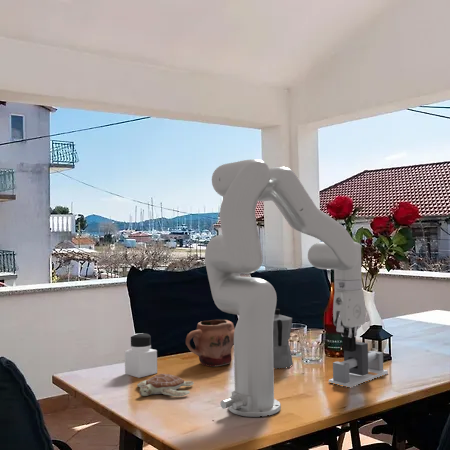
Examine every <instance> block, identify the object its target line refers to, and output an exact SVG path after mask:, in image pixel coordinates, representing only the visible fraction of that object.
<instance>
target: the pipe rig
mask: <svg viewBox="0 0 450 450" xmlns="http://www.w3.org/2000/svg"><path fill="white" fill-rule="evenodd" d="M356 366H358V358H352V359H349V360H346V361H344V360H343V361H334V362H332V378H330V379H328V383H329V382H331V383H335V384H339V385H343V386H347V387H352V386H355V385H357V386H359V385H358V384H360V383H363V382H365V381H368V380H370V381H373V380H375V379H374V378H376V379H377V377H378V378H381V377H382V375H383V376H386V375H389V371H388V369H384V353H383V352H381V351H375V350H368V374H366V375H363V376H362V375H357V374H352V373H349V369H350V368H353V367H356ZM385 374H386V375H385ZM380 376H381V377H380ZM372 379H373V380H372ZM368 382H369V381H368ZM365 383H366V382H365ZM363 384H364V383H363ZM360 385H361V384H360ZM343 386H342V387H343ZM347 387H346V388H347ZM355 387H356V386H355ZM352 388H353V387H352Z"/></svg>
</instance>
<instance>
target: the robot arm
mask: <svg viewBox="0 0 450 450" xmlns="http://www.w3.org/2000/svg"><path fill="white" fill-rule="evenodd" d="M211 185H212V187H213V189H214V191H215V192H216V193H217V195H219V196H221V197H223V199H222V200H221V201H222V202H221V204H220V208H219V223H220V229H221V230H220V231H221V234H218V235H215V236H214V237H212V238H211V239H210V240H209V242H207V245H206V246H205V247H206V248H205V251H204V262H205V268H206V272H207V279H208V282H209V287H210V291H211V297H212V299H213V301H214V304H215V306H216V307H217V308H218V309H219V310H220V311H221V312H224V313H226V314H232V315H236V316H237V315H238V320H237V322H236V325H235V326H234V328H235V331H234V345H233V359H234V360H233V361H234V362H233V363H234V366H233V368H234V369H233V372H234V390H233V391H231V396H230V397H229V398H226V399H223V400H221V401H220V402H219V403H220V407H221V409H223V410H225V409H228V411H230V412H231V413H232V414H235V415H237V416H243V417H247V418H248V417H249V418H255V417H256V418H258V417H259V418H260V416H262V417H267V415H269V416H272V415H275V414H277V413H279V412H280V411H281V409H282V407H281V406H282V405H281V402H280V401H279V400H277V399H276V398H275V385H274V384H275V383H274V382H275V380H274V379H275V375H274V374H275V373H274V371H275V369H274V365H273V321H274V315H276V313H275V309H277V301H278V299H277V298H278V297H277V292H276V290H275V288H274V286H273V285H272V284H271V283H270V282H269V281H267V280H265V279H263V278H261V277H252V276H251V277H250V276H241V274H252V273H255V272H257V271H258V270H260V268H261V266H262V265H263V251H262V246H261V240H260V235H259V230H258V225H257V216H256V208H257V205H258V202H270V201H271V202H273V203H274V204H275V205H276V207H277V209H278V210H279V212H280V213H281V214H282V216H283V218H284V219H285V221H286V222H287V224H288V225H289V226H290V227H291V228H292V229H293V230H295V231H298V232H299V233H302V234H305V235H307V236H310V237H312V238H315V239H317V240H319V241H320V242H316V243H314V244H312V245H311V246H310V248H308V249H309V250H308V251H307V260H308V262H309V263H310V265H311V266H312V267H314V268H316V269H320V270H332V271H333V272H334V273H333V277H334V278H333V279H334V281H333V282H334V294H333V305H332V306H333V308H332V309H333V310H332V314H333V315H332V317H333V320H332V321H333V325H334V326H335V327H336V329H335V330H336V332H337V333H340V334H341V337H342V349H343V352H344V351H350V352H353V351H356V342H357V341H356V339H357V338H356V337H357V335H358V330H359V329H360V328H361V327H362V326H363V325H364V324H366V322H367V320H366V319H367V318H366V314H367V313H366V303H365V301H366V300H365V295H364V291H363V289H362V288H363V287H362V286H363V282H362V280H363V279H362V246H361V244H360V243H359V242H356V241H354V239H353V238H352V236H351V234H350V233H349V231H348V230H347V229H346V228H345V227H344V226H343V225H342V224H341V223H340V222H338V221H337V220H335V219H334V217H333V218H332V217H331V216H329V215H328V214H327V213H325V212H323V210H320V208H318V207H317V206H316V204H315V202H314V200H313V199H312V198H311V196H310V195H309V193H308V192H307V190H306V188H305V187H304V185H303V184H302V182H301V180H300V179H299V177H298V176H297V175H296V173H295V171H294V170H292V169H290V168H289V167H285V166H277V167H276V166H275V167H269V165H268V164H267V162H266V161H264V160H262V159H256V158H254V159H252V158H251V159H242V160H240V161H239V160H238V161H234V162H229V163H224V164H223V163H222V164H220V165H219V166H218V167H216V169H214V171H213V173H212V176H211Z"/></svg>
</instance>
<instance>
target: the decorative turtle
mask: <svg viewBox="0 0 450 450" xmlns="http://www.w3.org/2000/svg"><path fill="white" fill-rule="evenodd" d="M194 384H195V383H194V381H193V380H192V381H191V380H187V381H185V380H184V379H183V378H181V377H179V376H177V375H173V374H169V373H159V374H156V375H154V376H151V377H150V378H148V379H145V380H142V381H140V382H138V383H137V384H136V386H137V387H138V388H139V393H138V394H139V395H140V396H141V397H147V396H151V395H162V394H163V395H166V396H170V397H176V398H177V397H178V398H179V397H184V396H186V395H189V394H190V393H191V391H189V390H179V389H180V388H181V387H191V386H193V385H194Z"/></svg>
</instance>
